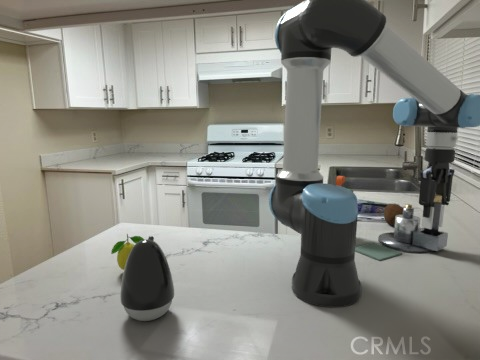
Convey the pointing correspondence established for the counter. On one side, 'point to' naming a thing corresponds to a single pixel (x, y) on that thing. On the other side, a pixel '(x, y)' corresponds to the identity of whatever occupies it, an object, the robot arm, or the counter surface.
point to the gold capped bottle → (435, 216)
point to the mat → (377, 251)
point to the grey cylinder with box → (416, 231)
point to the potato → (392, 213)
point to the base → (399, 244)
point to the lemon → (124, 250)
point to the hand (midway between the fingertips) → (431, 226)
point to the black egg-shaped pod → (146, 282)
